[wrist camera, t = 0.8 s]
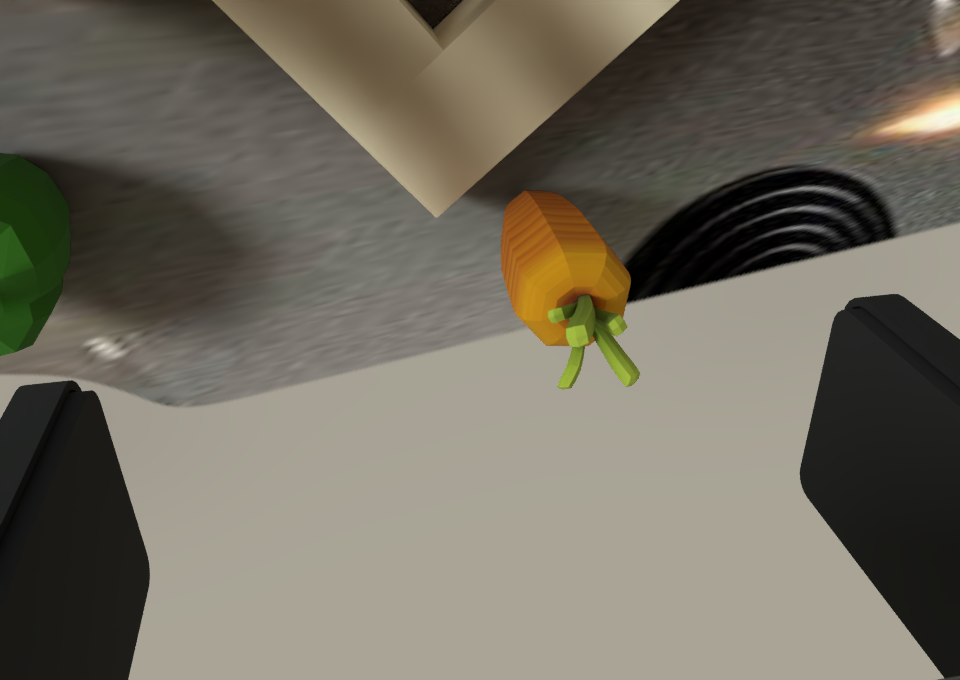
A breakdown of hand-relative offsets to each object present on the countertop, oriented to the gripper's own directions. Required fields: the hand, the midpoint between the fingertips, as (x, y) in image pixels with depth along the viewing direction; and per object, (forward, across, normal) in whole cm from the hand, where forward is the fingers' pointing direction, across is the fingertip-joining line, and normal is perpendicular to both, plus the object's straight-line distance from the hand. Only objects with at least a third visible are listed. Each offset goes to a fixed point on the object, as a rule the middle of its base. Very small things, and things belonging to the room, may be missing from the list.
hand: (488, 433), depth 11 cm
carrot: (+31, -7, +9) cm, 33 cm away
